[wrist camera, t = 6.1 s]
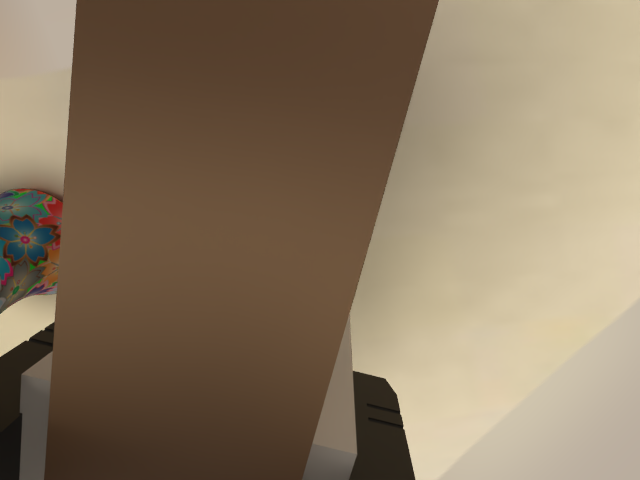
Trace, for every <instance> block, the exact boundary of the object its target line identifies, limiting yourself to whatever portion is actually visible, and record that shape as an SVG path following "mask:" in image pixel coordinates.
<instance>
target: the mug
mask: <svg viewBox="0 0 640 480" xmlns="http://www.w3.org/2000/svg"><path fill="white" fill-rule="evenodd" d="M62 209H63V203H62V202H61V201H59V200H58V199H56V198H54V197H53V196H51V195H49V194H46V193H44V192H41V191H37V190H32V189H14V190H10V191H7V192H4V193H2V194H0V314H1V313H2V312H3V311H4V310H5V309H7V308H8V307H10V306H11V305H12V304H14V303H16V302H17V301H19V300H21V299H23V298H26V297H28V296H32V295H50V294H55V293H57V282H58V267H59V253H60V238H61V224H62Z"/></svg>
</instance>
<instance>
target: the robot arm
mask: <svg viewBox="0 0 640 480" xmlns="http://www.w3.org/2000/svg"><path fill="white" fill-rule="evenodd" d="M54 326H55V322H54V323H52V324H50V325H49V326H47V327H46V328H45V330H44V331H43V330H41V331H40V332H38V333H37V334H35V335H34V336H32V337H30V339H29V341H24V342H23V343H21V344H20V345H18V346H17V347H15V348H14V349H12V350H10V351H9V352H7V353H6V354H4V355H3V356H1V357H0V480H44V472H45V458H46V443H47V428H48V414H49V399H50V384H51V370H52V355H53V341H54ZM302 480H415V476H414V471H413V467H412V462H411V458H410V453H409V449H408V444H407V440H406V435H405V430H404V429H403V421H402V417H401V415H400V408H399V403H398V399H397V395H396V393H395V392H394V390H393V389H392V388H391V386H390V385H389V383H388V382H387V381H386V379H384V378H380V377H376V376H372V375H368V374H364V373H360V372H355V371H353V369H352V350H351V332H350V314H349V317H348V320H347V324H346V327H345V331H344V334H343V338H342V341H341V345H340V348H339V352H338V355H337V359H336V362H335V366H334V369H333V373H332V376H331V380H330V383H329V387H328V390H327V394H326V397H325V401H324V404H323V408H322V411H321V415H320V418H319V422H318V425H317V429H316V432H315V436H314V439H313V443H312V446H311V450H310V453H309V457H308V460H307V464H306V467H305V471H304V474H303V478H302Z"/></svg>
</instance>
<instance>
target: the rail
mask: <svg viewBox="0 0 640 480" xmlns="http://www.w3.org/2000/svg"><path fill="white" fill-rule="evenodd" d="M438 1H439V0H77V4H76V19H75V34H74V48H73V63H72V77H71V92H70V107H69V121H68V136H67V150H66V165H65V180H64V194H63V209H62V224H61V238H60V253H59V267H58V282H57V297H56V311H55V326H54V341H53V355H52V370H51V384H50V399H49V414H48V428H47V443H46V458H45V472H44V480H302V478H303V474H304V471H305V467H306V464H307V460H308V457H309V453H310V450H311V446H312V443H313V439H314V436H315V432H316V429H317V425H318V422H319V418H320V415H321V411H322V408H323V404H324V401H325V397H326V394H327V390H328V387H329V383H330V380H331V376H332V373H333V369H334V366H335V362H336V359H337V355H338V352H339V348H340V345H341V341H342V338H343V334H344V331H345V327H346V324H347V320H348V317H349V313H350V310H351V306H352V303H353V299H354V296H355V292H356V289H357V285H358V282H359V278H360V275H361V271H362V268H363V264H364V261H365V257H366V254H367V250H368V247H369V243H370V240H371V236H372V233H373V229H374V226H375V222H376V219H377V215H378V212H379V208H380V205H381V201H382V198H383V194H384V191H385V187H386V184H387V180H388V177H389V173H390V170H391V166H392V162H393V159H394V155H395V152H396V148H397V145H398V141H399V138H400V134H401V131H402V127H403V124H404V120H405V117H406V113H407V110H408V106H409V103H410V99H411V96H412V92H413V89H414V85H415V82H416V78H417V75H418V71H419V68H420V64H421V61H422V57H423V54H424V50H425V47H426V43H427V40H428V36H429V33H430V29H431V26H432V22H433V19H434V15H435V12H436V8H437V5H438Z"/></svg>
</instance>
